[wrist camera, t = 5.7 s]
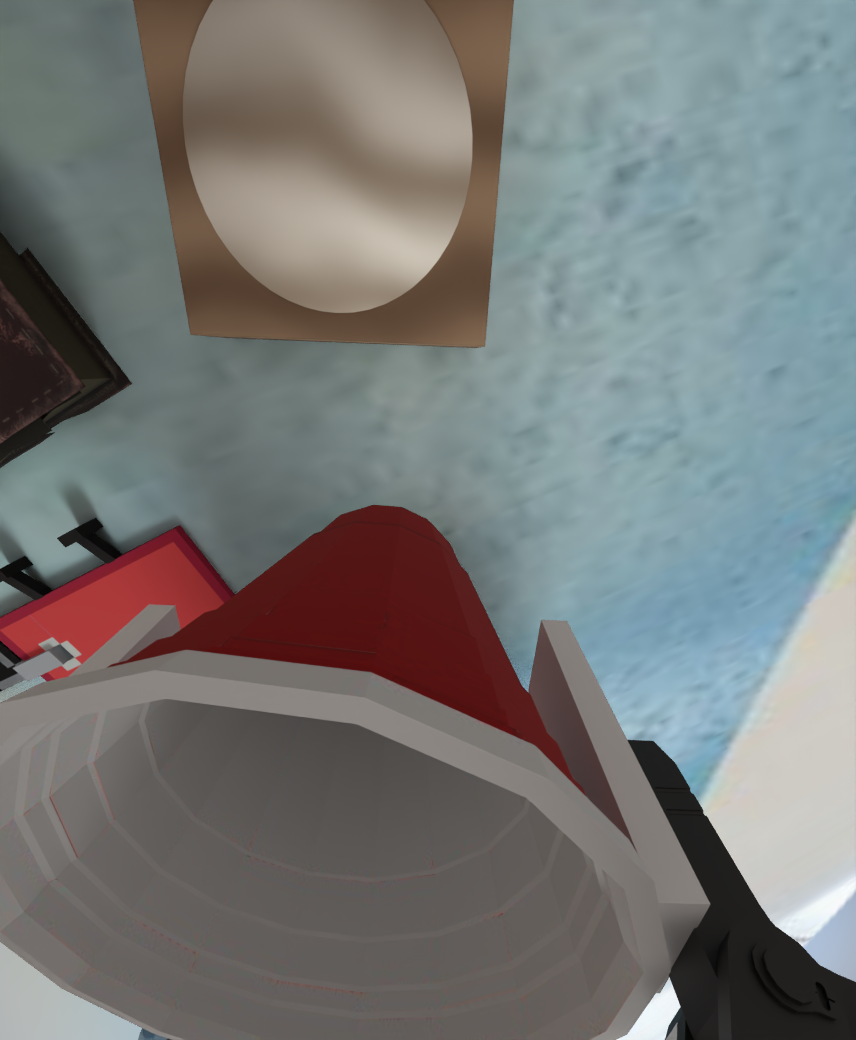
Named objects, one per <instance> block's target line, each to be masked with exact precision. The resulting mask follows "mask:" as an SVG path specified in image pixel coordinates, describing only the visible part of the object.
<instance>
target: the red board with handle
mask: <svg viewBox="0 0 856 1040" xmlns="http://www.w3.org/2000/svg"><path fill="white" fill-rule="evenodd" d="M102 527H103V526H102V524H101V523H100V522H99V521H98V520H97V519H96V518H94V519H92V520H90V521H89V522H87V523H85V524H83V525H81V526H79V527H77V528H75V529H73V530H71V531H69V532H67V533H66V534H64V535H62V536H60V537H58V538H57V539H58V540H59V541H60V542H61V543H62V544H63V545H64V546H65V547H67V546H69V545H71V544H73V543H75V542H77V543H79V544H80V545H81V546H83V547H84V548H86V549H87V550H88V551H90V552H91V553H93V554H94V555H96V556H97V557H98V558H100V559H101V560H103V561H104V562H105V564H103V565H101V566H99V567H97V568H95V569H93V570H91V571H89V572H87V573H85V574H83V575H81V576H79V577H78V578H76V579H74V580H72V581H70V582H68V583H66V584H64V585H62V586H60V587H58V588H56V589H54V590H51V589H50V588H48V587H46V586H45V585H43V584H41V583H40V582H38V581H37V580H35V579H33V578H32V577H30V576H28V575H27V574H25V573H23V572H22V570H24V569H25V568H27V567H29V566H31V565H33V564H32V563H31V562H30V561H29V560H28V559H27V558H26V557H25V556H24V557H22V558H20V559H18V560H16V561H14V562H12V563H11V564H9V565H7V566H5V567H3V568H1V569H0V582H2V581H4V582H6V583H7V584H9V585H11V586H13V587H14V588H16V589H18V590H19V591H21V592H23V593H25V594H26V595H28V596H30V597H31V598H33V599H35V600H33V601H31V602H29V603H27V604H25V605H23V606H21V607H19V608H17V609H15V610H13V611H11V612H9V613H7V614H6V615H4V616H2V617H0V641H1V642H2V643H4V644H5V645H6V646H7V647H8V648H9V649H10V650H12V651H13V652H14V653H15V654H16V655H17V656H19V657H20V658H21V659H22V660H23V661H20V660H19V659H18V658H17V657H16V656H15V655H14V654H12V653H11V652H10V651H9V650H8V649H7V648H6V647H4V646H3V645H2V644H1V643H0V691H2V690H4V689H6V688H9V687H11V686H13V685H15V684H17V683H19V682H21V681H23V680H25V679H26V680H27V681H30V680H32V679H34V678H36V677H38V676H41V677H43V678H44V679H45V680H46V681H52V680H56V679H60V678H65V677H68V676H69V675H71V674H72V673H73V672H74V671H75V670H76V669H77V668H78V667H79V666H81V665H82V664H83V663H84V662H85V661H86V660H87V659H88V658H90V657H91V656H92V655H93V654H94V653H95V652H96V651H97V650H99V649H100V648H101V647H102V646H103V645H104V644H105V643H106V642H107V641H109V640H110V639H111V638H112V637H113V636H114V635H115V634H116V633H118V632H119V631H120V630H121V629H122V628H123V627H124V626H125V625H127V624H128V623H129V622H130V621H131V620H132V619H133V618H134V617H135V616H137V615H138V614H139V613H140V612H141V611H142V610H143V609H144V608H146V607H147V606H148V605H149V604H151V605H175V607H176V611H177V615H178V619H179V624H180V628H181V629H182V628H184V627H185V626H186V625H188V624H189V623H191V622H192V621H193V620H195V619H196V618H198V617H199V616H200V615H202V614H203V613H205V612H208V611H212V610H216V609H217V608H219V607H220V606H221V605H223V604H224V603H225V602H226V601H228V600H229V599H230V598H232V597H233V596H234V595H235V594H234V593H233V592H232V591H231V589H230V588H229V587H228V586H227V584H226V583H225V582H224V581H223V579H222V578H221V577H220V575H219V574H218V573H217V572H216V570H215V569H214V568H213V567H212V565H211V564H210V563H209V562H208V560H207V559H206V558H205V556H204V555H203V554H202V553H201V551H200V550H199V549H198V548H197V546H196V545H195V544H194V542H193V541H192V540H191V539H190V537H189V536H188V535H187V534H186V532H185V531H184V530H183V529H182V527H181V526H180V525H179V526H177V527H175V528H173V529H171V530H169V531H167V532H166V533H164V534H162V535H160V536H158V537H156V538H154V539H152V540H150V541H148V542H146V543H144V544H142V545H140V546H138V547H136V548H134V549H132V550H130V551H128V552H126V553H124V554H121V553H120V552H119V551H118V550H116V549H115V548H114V547H112V546H111V545H110V544H108V543H107V542H106V541H104V540H103V539H102V538H100V537H99V536H98V535H96V534H95V533H94V532H95V531H97V530H99V529H100V528H102Z"/></svg>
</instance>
